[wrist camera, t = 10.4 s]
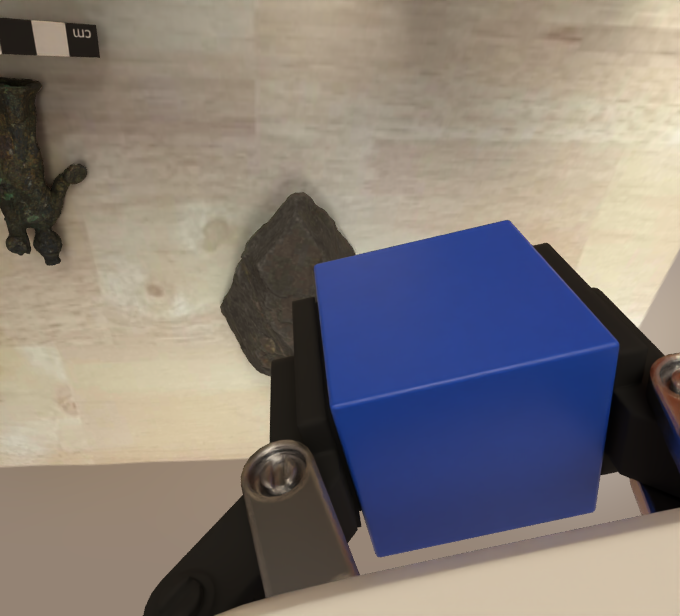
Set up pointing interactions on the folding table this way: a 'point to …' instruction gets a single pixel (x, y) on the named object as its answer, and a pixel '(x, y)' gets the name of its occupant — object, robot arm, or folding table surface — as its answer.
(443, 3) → the folding table surface
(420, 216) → the folding table surface
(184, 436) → the folding table surface
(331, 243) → the rock
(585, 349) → the cube
